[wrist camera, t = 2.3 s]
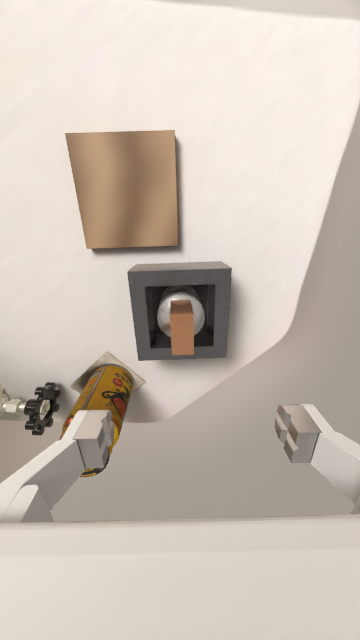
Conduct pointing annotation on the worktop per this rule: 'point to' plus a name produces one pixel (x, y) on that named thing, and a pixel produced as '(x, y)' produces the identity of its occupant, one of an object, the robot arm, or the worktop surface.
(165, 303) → the plug
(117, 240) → the board
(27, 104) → the worktop surface
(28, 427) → the valve
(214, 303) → the housing
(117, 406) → the condiment
